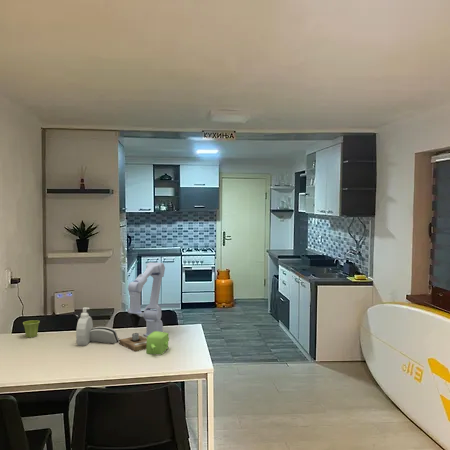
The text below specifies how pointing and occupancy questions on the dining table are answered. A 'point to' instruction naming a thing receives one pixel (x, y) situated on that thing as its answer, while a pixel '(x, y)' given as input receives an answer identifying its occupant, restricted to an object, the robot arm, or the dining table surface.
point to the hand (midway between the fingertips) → (135, 327)
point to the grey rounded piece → (103, 335)
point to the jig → (134, 343)
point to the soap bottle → (84, 328)
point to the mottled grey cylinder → (135, 337)
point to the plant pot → (31, 328)
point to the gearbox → (157, 342)
